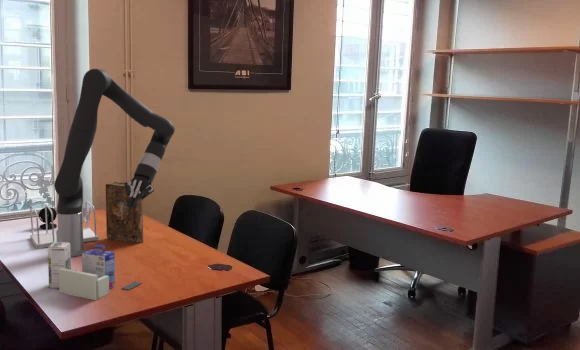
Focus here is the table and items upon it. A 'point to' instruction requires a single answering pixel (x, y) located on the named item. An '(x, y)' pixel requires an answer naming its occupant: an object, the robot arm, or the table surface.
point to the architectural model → (85, 214)
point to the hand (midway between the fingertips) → (129, 207)
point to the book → (123, 216)
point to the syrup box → (58, 261)
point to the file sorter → (50, 238)
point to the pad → (131, 285)
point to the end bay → (83, 284)
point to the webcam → (49, 218)
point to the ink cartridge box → (99, 263)
